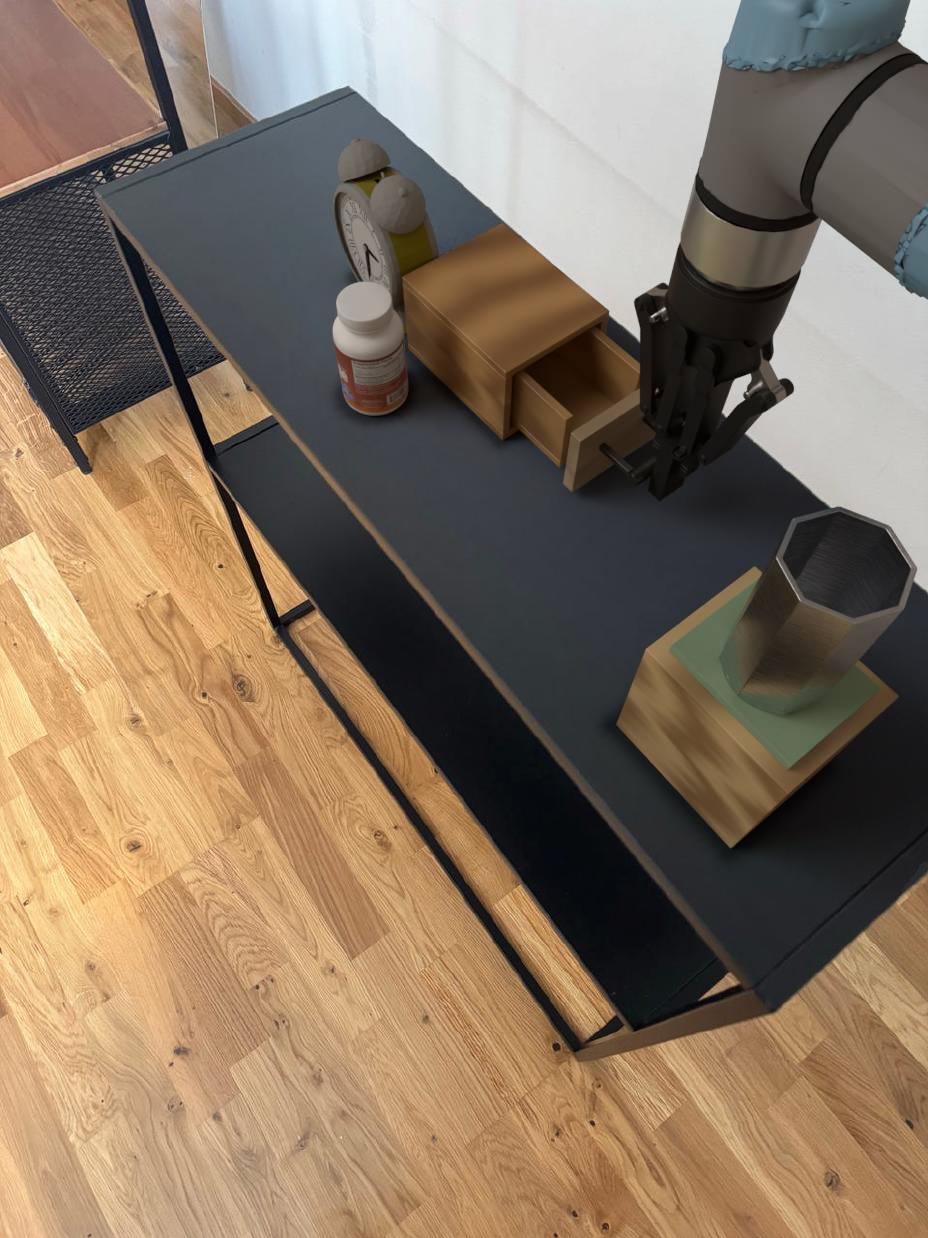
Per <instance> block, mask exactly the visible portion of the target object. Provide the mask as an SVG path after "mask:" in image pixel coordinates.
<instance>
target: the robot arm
mask: <svg viewBox="0 0 928 1238" xmlns="http://www.w3.org/2000/svg"><path fill="white" fill-rule="evenodd" d="M910 3H911V0H740V2H739V5H738V9H737V13H736V16H735V19H734V22H733V25H732V27H731V31H730V34H729V38H728V40H727V42H726V44H725V46H724V47H723V49H722V53H721V66H720V69H719V76H718V81H717V85H716V89H715V94H714V99H713V105H712V109H711V115H710V119H709V124H708V129H707V133H706V138H705V141H704V146H703V150H702V154H701V157H700V159H699V161H698V166H697V167H698V168H697V170H696V174H695V175H694V180H693V183H692V188H691V192H690V195H689V198H688V199H689V200H688V204H687V207H686V211H685V215H684V218H683V222H682V226H681V231H680V241H679V242H678V246H677V249H676V253H675V256H674V260H673V261H674V262H673V265H672V269H671V273H670V277H669V281H668V284H667V283H666V282H660V283H658V284H656V285H655V286H653V287H652V288H650V289H648V290H647V291H645V292H643V293H642V294H640V295H638V296H636V297H635V299H634V301H633V306H634V310H635V314H636V317H637V322H638V326H639V363H640V409H641V411H642V413H643V414H644V415H646V416H650V415H652V417H653V418H654V420H655V429H656V434H655V437H654V438H653V442H652V445H651V454H652V455H653V457H654V456H655V457H656V458H657V459H656V462H655V466H654V469H653V472H652V476H651V477H650V479H649V482H648V487H647V489H646V490H647V492H648V493H650V495H652V496H653V497H654V498H655V499H656V500H657V501H658V502H659V503H660V502H661V501H662V500H664V499H666V498H667V497H668V496H670V495H671V494H673V493H674V492H676V491H677V490H679V489H680V488H681V487H682V486H684V484H685V480H686V478H687V477H689V476H690V475H691V474H693V473H695V472H696V471H698V470H699V467H700V464H701V465H702V466H705V467H706V466H709V465H711V464H712V463H713V462H715V461H716V460H717V459H719V458H721V457H722V456H723V455H725V454H726V453H727V452H729V451H730V450H732V448H734V446H735V445H736V444H737V443H738V442H739V441H740V440H741V438H742V437H743V436H744V435H745V434H746V433H747V432H748V431H749V430H750V428H751V427H753V425H754V424H755V423H756V422H757V420H758V419H759V418H760V417H761V416H762V415H763V414H764V413H766V412H767V411H770V410H771V409H772V408H774V407H775V406H776V405H778V404H779V403H781V402H782V401H784V400H785V399H786V398H788V397H789V396H791V395H792V394H794V392H795V386H794V383H793V382H792V380H790V379H789V378H786V377H783V378H780V379H779V378H778V376H777V374H776V372H775V370H774V369H773V366H772V364H771V360H772V359H773V356H774V352H775V347H774V337H775V336H774V335H775V333H776V331H777V329H778V328H779V325H780V323H781V322H782V320H783V319H784V316H785V314H786V312H787V309H788V307H789V304H790V302H791V299H792V297H793V294H794V292H795V290H796V287H797V284H798V283H799V279H800V277H801V274H802V268H803V266H804V265H805V263H806V261H807V258H808V256H809V254H810V252H811V248H812V247H813V243H814V241H815V238H816V237H817V234H818V232H819V229H820V226H821V224H822V221H823V222H824V223H826V224H827V225H828V226H829V227H831V228H832V229H833V230H834V231H836V232H837V233H838V234H839V235H841V236H842V237H843V238H844V239H845V240H847V241H848V242H850V243H851V244H852V245H854V246H855V247H856V248H857V249H858V250H860V252H862V253H864V255H866V256H867V257H869V258H870V259H871V260H872V261H874V262H875V263H876V264H877V265H879V266H880V267H881V268H882V269H884V271H886V272H887V273H889V275H891V276H892V277H894V278H895V279H896V280H897V281H898V284H899V285H900V286H901V287H904V288H905V290H906V291H907V292H908V293H910V294H915V295H916V296H918V297H919V298H924V299H926V300H927V301H928V61H927V60H925V59H923V58H922V57H921V56H920V55H919V54H918V53H917V52H914V51H912V49H909V48H908V47H906V46H904V45H903V44H902V43H901V42H900V41H899V40H900V38H901V37H902V35H903V34H902V33H903V30H904V29H905V28H906V23H907V19H906V18H907V14H908V11H909V7H910ZM747 375H750V377H751V378H750V382H749V383H748V384H747V386H746V391H744V392H743V393H742V397H743V399H744V400H742V401H741V402H739V403H738V404H737V405H736V406H735V407H734V408H733V409H732V411H730V413H729V414H728V415H727V417H726V418H725V419H724V420H723V421H722V423H721V424H720V425H719V426H718V424H719V422H720V419H721V416H722V413H723V410H724V408H725V405H726V403H727V400H728V397H729V394H730V392H731V390H732V389H731V388H732V386H733V383H734V382H735V381H736V379H739V378H742V377H745V376H747ZM656 389H658V392H656Z"/></svg>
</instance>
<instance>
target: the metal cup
mask: <svg viewBox="0 0 928 1238" xmlns="http://www.w3.org/2000/svg"><path fill="white" fill-rule="evenodd" d="M917 571H918V566H917V565H916V563H915V561H914V560H913V559H912V557H911V556H910V554H909V553H908V551H907V550H906V548H905V546H904V545H903V544H902V542H901V540H900V539H899V537H898V535H897V534H896V532H895V531H894V529H893V528H892V526H890V525H889V524H886V523H884V522H881V521H879V520H876V519H874V518H872V517H868V516H866V515H863V514H860V513H858V512H856V511H853V510H851V509H848V508H846V507H842V506H839V505H837V506H835V507H831V508H827V509H824V510H819V511H816V512H813V513H808V514H804V515H801V516H797V517H794V518H792V519H791V520H790V522H789V524H788V526H787V528H786V529H785V531H784V533H783V535H782V537H781V539H780V540H779V542H778V544H777V546H776V547H775V549H774V551H773V553H772V554H771V557H770V558H769V560H768V562H767V564H766V566H765V567H764V569H763V570H762V574H761V576H760V578H759V580H758V581H757V583H756V585H755V587H754V589H753V590H752V592H751V594H750V596H749V598H748V599H747V601H746V603H745V605H744V607H743V608H742V610H741V612H740V614H739V616H738V617H737V619H736V621H735V623H734V624H733V627H732V629H731V631H730V633H729V636H728V638H727V640H726V642H725V644H724V647H723V649H722V652H721V654H720V656H719V660H720V662H721V664H722V669H723V673H724V676H725V678H726V680H727V682H728V684H729V686H730V687H731V688H732V690H733V691H734V692H735V693H736V695H737V696H738V697H739V698H741V699H742V700H743V701H745V702H746V703H748V704H749V705H751V706H753V707H755V708H756V709H759V710H762V711H765V712H768V713H774V714H777V715H784V714H792V713H796V712H799V711H802V710H805V709H806V708H808V707H810V706H814V705H817V704H820V703H821V702H822V700H823V699H824V698H825V697H826V696H827V695H828V694H829V693H830V692H831V690H832V689H833V688H834V687H835V686H836V685H837V684H838V683H839V681H840V680H841V679H842V678H843V677H844V676H845V675H846V674H847V672H848V671H849V670H850V669H851V668H852V667H853V666H854V665H855V663H856V662H857V661H858V660H859V661H860V659H861V658H863V656H864V654H866V652H868V650H869V649H870V648H871V647H872V646H873V645H874V644H875V642H876V641H877V640H878V639H879V638H881V635H882V634H883V633H884V632H885V631H886V630H887V629H888V628H889V627H890V625H892V623H893V622H894V621H895V620H896V619H897V618H898V617H899V615H901V613H902V612H903V611H904V610H905V607H906V605H907V602H908V599H909V596H910V593H911V589H912V588H913V587H912V586H913V584H914V581H915V578H916V575H917Z"/></svg>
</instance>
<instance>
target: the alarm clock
mask: <svg viewBox="0 0 928 1238" xmlns="http://www.w3.org/2000/svg"><path fill="white" fill-rule="evenodd" d="M337 163H338V164H337V175H338V179H339V181H342V183H340V184H339V185H337V187H336V189H335V191H334V193H333V200H332V209H333V210H332V211H333V218H334V222H335V223H334V224H335V227H336V232H337V236H338V240H339V242H340V245H341V248H342V251H343V253H344V257H345V258H346V261H347V263H348V265H349V267H350V270H351V272H352V273H353V275H354V277H355V278H356V280H357V283H358V282H374V283H377V284H380V285H382V286H383V287H385V288H386V289H387V290H388V291H389V293H390V294H391V297H392V304H393V310H394V311H395V312H396V313H397V314H398V315H399V317H400V319H401V321H402V324H403V330H404V335H407V328H406V316H405V305H404V293H403V281H402V277H403V276H405V275H407V274H409V273H410V272H412V271H414V270H416V269H418V268H420V267H422V266H424V265H425V264H427V263H429V262H431V261H433V260H435V259H437V258H438V257H440V252H439V247H438V241H437V237H436V234H435V230H434V226H433V224H432V222H431V218H430V216H429V213H428V210H427V204H426V198H425V195H424V192H423V191H422V188H421V187H420V186H419V185H418V184H417V183H416V181H414V180H413V179H411V178H409V177H407V176H406V175H404V174H403V173H402V172H401V171H400V170H398V169H396V168H394V167H393V166H389V165H390V164H391V163H392V162H391V159H390V156H389V155H388V153H387V151H386V150H385V149H384V148H383V147H382V146H380V145H379V144H378V143H377V142H374V141H372V140H368V139H360V138H358V137H354V138H353V139H352V140H351V142H350V144H348V145H347V146H346V147H345V148H344V149H343V150H342V151H341V154H340V156H339V159H338V162H337Z"/></svg>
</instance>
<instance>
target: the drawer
mask: <svg viewBox="0 0 928 1238" xmlns="http://www.w3.org/2000/svg"><path fill="white" fill-rule="evenodd" d="M512 376H513V378H512V395H511V412H510V421H511V422H512V423H513V424H514V425H515V426H516V427H517V428H518V429H519V431H520V432H521V433H522V434H523V435H524V436H525V437H526V438H527V439H529V440H530V441H531V442H532V444H534V445H535V446H536V448H538V449H539V450H540V451H541V452H542V453H543V454H544V455H545V456H546V457H547V458H548V459H549V460H550V461H551V462H553V463H554V464H555V465H556V467H558V468H560V469H561V468H562V467H564V466H565V468H564V476H563V483H562V484H563V485H564V486H565V487H566V489H568V490H569V491H570V492H571V493H573V492H575V491H577V490H578V489H580V488H581V487H583V486H585V485H586V484H587V483H589V482H590V481H592V480H593V479H595V478H596V477H598V476H599V475H600V474H602V473H604V472H605V471H607V470H608V469H609V468H612V467H613V466H614V465H615V466H616V467H617V468H618V469H619V470H620V471H621V472H623V473H624V475H625V476H626V480H627V482H628V483H629V485H630V486H631V487H633V488H636V487H638V486H640V485H641V484H642V483H644V482H645V481H646V480H648V479H649V478H651V476H652V472H653V469H654V466H655V462H656V459H657V458H656V457H655V456H654V455H653V457H651V458H650V459H649V460H647V461H645V462H644V463H643V464H641V465H640V466H638V467H637V468H634V467H632V465H631V464H629V463H628V462H627V461H626V460H625V459H624V458H626V457H627V456H629V455H630V454H632V453H634V452H635V451H636V450H638V449H639V448H641V447H642V446H644V445H646V444H647V443H648V442H650V441H651V440H654V438H655V434H656V429H655V420H654V418H653V417H652V415H650V416H646V415H644V414H643V413H642V411H641V409H640V362H639V361H638V360H636V359H635V358H634V357H632V356H631V355H630V354H629V353H628V352H627V351H626V350H624V348H622V347H621V346H620V345H618V344H617V343H616V342H614V340H613V339H611V338H610V337H609V336H608V335H607V334H604V333H603V332H602V331H600V330H599V329H598V328H597V327H596V326H594V327H592V328H590V329H589V330H587V331H585V332H584V333H582V334H580V335H579V336H577V337H575V338H574V339H572V340H570V341H569V342H567V343H565V344H564V345H562V346H560V347H559V348H557V349H555V350H554V351H552V352H550V353H549V354H547V355H545V356H544V357H542V358H540V359H539V360H537V361H536V362H534V363H532V364H531V365H529V366H527V367H526V368H524V369H522V370H521V371H519V372H517V373H516V374H514V375H512ZM656 392H658V389H656Z"/></svg>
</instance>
